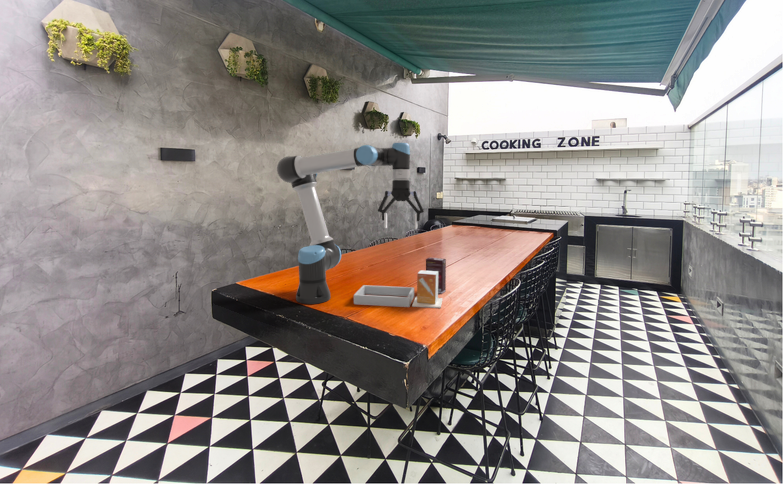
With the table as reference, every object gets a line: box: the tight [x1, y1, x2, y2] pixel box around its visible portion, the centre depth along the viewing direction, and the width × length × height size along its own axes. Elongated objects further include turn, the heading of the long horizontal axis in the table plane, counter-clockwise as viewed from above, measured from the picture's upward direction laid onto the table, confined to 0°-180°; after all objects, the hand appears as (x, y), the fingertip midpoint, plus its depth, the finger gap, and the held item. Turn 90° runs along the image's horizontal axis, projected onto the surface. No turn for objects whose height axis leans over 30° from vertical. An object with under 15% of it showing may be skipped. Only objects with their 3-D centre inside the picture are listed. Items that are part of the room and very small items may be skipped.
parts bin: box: [353, 284, 415, 308], centre depth 170 cm, size 24×16×4 cm, turn 79°
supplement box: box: [425, 257, 447, 294], centre depth 181 cm, size 9×5×16 cm, turn 62°
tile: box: [411, 296, 443, 309], centre depth 165 cm, size 12×12×1 cm
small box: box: [416, 269, 439, 304], centre depth 164 cm, size 8×6×13 cm
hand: (400, 228), depth 169 cm, fingers open, 13 cm apart
